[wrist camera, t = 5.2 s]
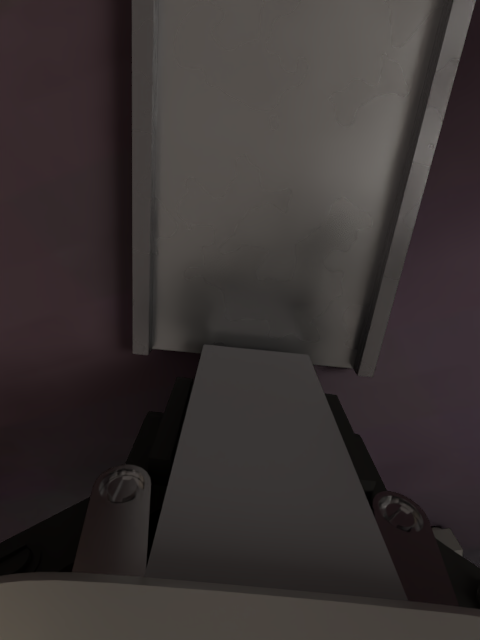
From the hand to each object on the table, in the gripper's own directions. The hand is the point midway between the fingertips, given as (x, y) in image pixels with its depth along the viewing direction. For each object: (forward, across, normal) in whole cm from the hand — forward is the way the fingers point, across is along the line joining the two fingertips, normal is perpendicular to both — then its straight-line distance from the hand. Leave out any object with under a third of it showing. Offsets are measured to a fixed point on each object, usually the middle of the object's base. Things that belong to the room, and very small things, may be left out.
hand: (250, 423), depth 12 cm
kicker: (+2, 0, +3) cm, 4 cm away
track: (+3, 0, -8) cm, 8 cm away
